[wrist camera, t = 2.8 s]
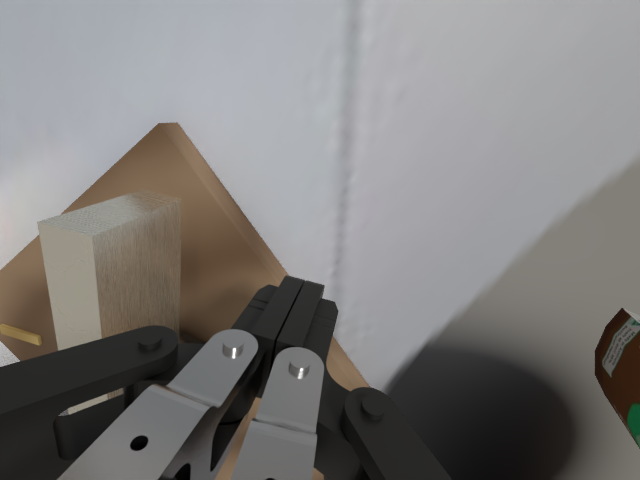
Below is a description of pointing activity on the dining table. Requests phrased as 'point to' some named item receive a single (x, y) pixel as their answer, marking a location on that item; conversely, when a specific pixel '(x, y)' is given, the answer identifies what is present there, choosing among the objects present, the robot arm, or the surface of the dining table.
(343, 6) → the dining table surface
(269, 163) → the dining table surface
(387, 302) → the dining table surface
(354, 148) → the dining table surface
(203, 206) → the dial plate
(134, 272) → the beige bar and knob
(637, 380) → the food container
